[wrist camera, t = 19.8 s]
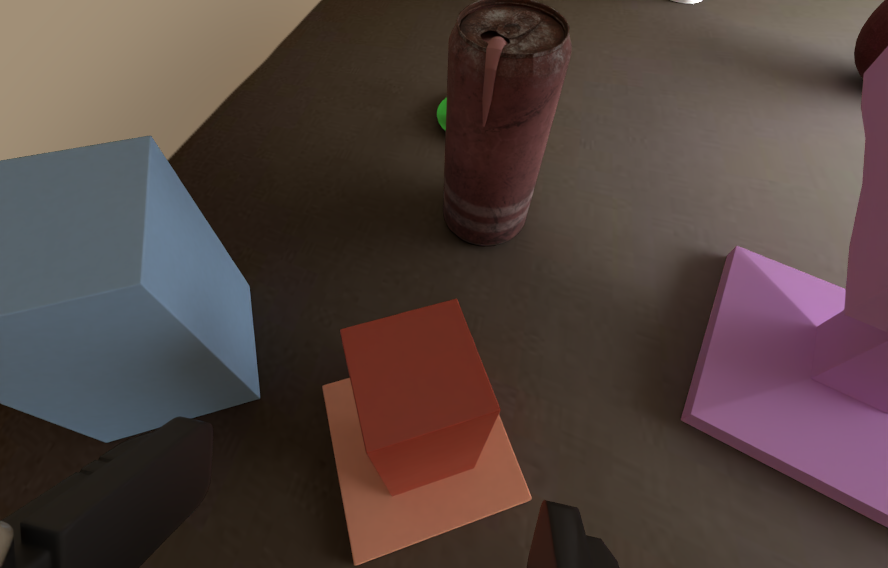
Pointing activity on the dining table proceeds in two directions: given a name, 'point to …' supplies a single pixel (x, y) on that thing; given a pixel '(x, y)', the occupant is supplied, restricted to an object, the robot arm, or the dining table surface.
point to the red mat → (424, 508)
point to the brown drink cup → (499, 113)
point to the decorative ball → (872, 39)
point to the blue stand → (116, 295)
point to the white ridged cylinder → (687, 1)
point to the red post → (420, 394)
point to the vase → (809, 350)
